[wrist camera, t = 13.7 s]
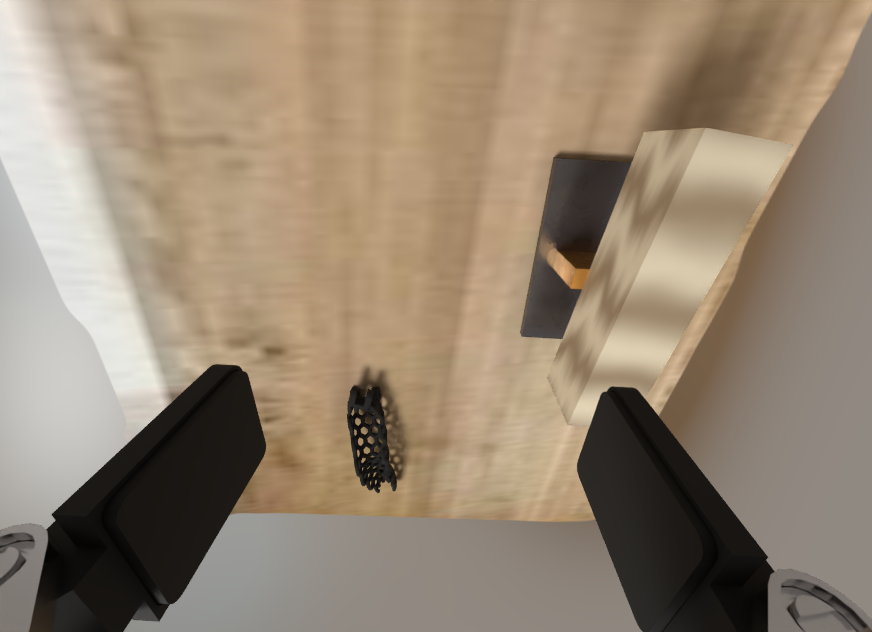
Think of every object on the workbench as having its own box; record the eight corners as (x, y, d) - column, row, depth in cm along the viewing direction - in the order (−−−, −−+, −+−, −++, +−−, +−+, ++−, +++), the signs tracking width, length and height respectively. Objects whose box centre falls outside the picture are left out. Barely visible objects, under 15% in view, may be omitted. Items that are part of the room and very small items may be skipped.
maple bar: (643, 131, 26) (705, 127, 20) (711, 144, 26) (793, 144, 20) (547, 377, 37) (567, 424, 31) (595, 385, 37) (625, 433, 31)
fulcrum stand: (553, 158, 33) (577, 160, 27) (674, 164, 33) (727, 169, 27) (520, 332, 42) (532, 364, 36) (615, 338, 42) (644, 371, 36)
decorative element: (403, 479, 56) (399, 513, 51) (373, 481, 57) (366, 515, 51) (379, 370, 46) (371, 398, 41) (344, 372, 47) (331, 401, 41)
